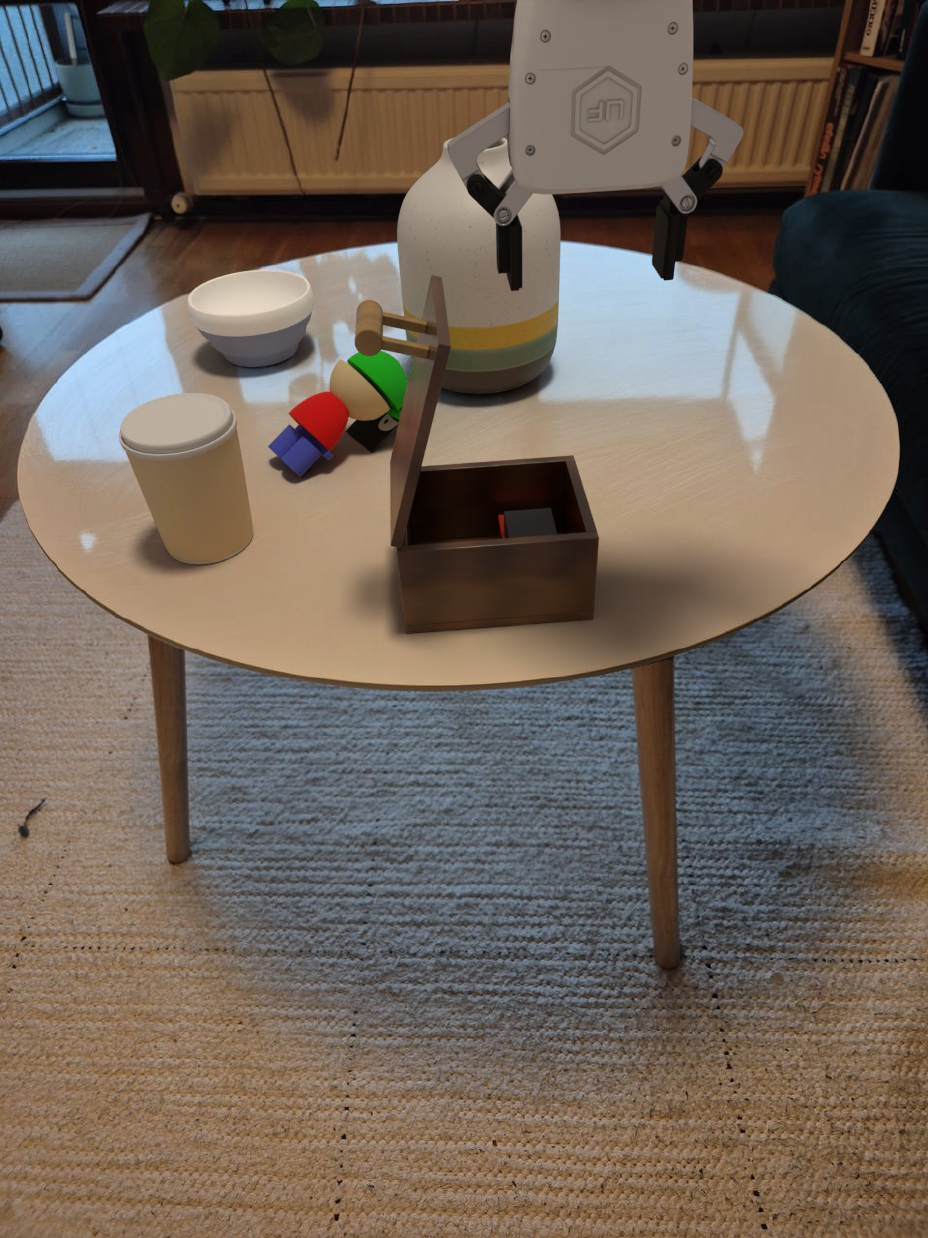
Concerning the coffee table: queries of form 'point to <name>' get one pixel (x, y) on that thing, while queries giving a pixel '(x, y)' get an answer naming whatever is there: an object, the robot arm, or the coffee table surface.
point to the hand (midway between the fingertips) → (588, 277)
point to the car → (526, 523)
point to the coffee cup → (191, 474)
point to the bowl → (253, 315)
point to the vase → (481, 276)
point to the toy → (345, 410)
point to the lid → (409, 389)
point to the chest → (497, 547)
